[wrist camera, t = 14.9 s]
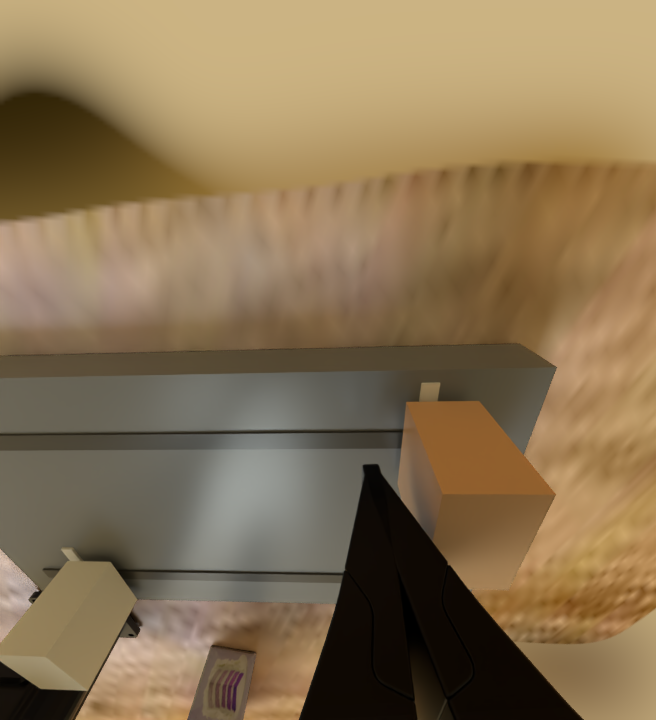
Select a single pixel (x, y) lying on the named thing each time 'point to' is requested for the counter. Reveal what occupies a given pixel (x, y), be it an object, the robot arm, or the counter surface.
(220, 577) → the panel
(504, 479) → the copper slider
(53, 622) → the cream slider
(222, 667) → the striped narrow carton
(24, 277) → the counter surface
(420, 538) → the robot arm
